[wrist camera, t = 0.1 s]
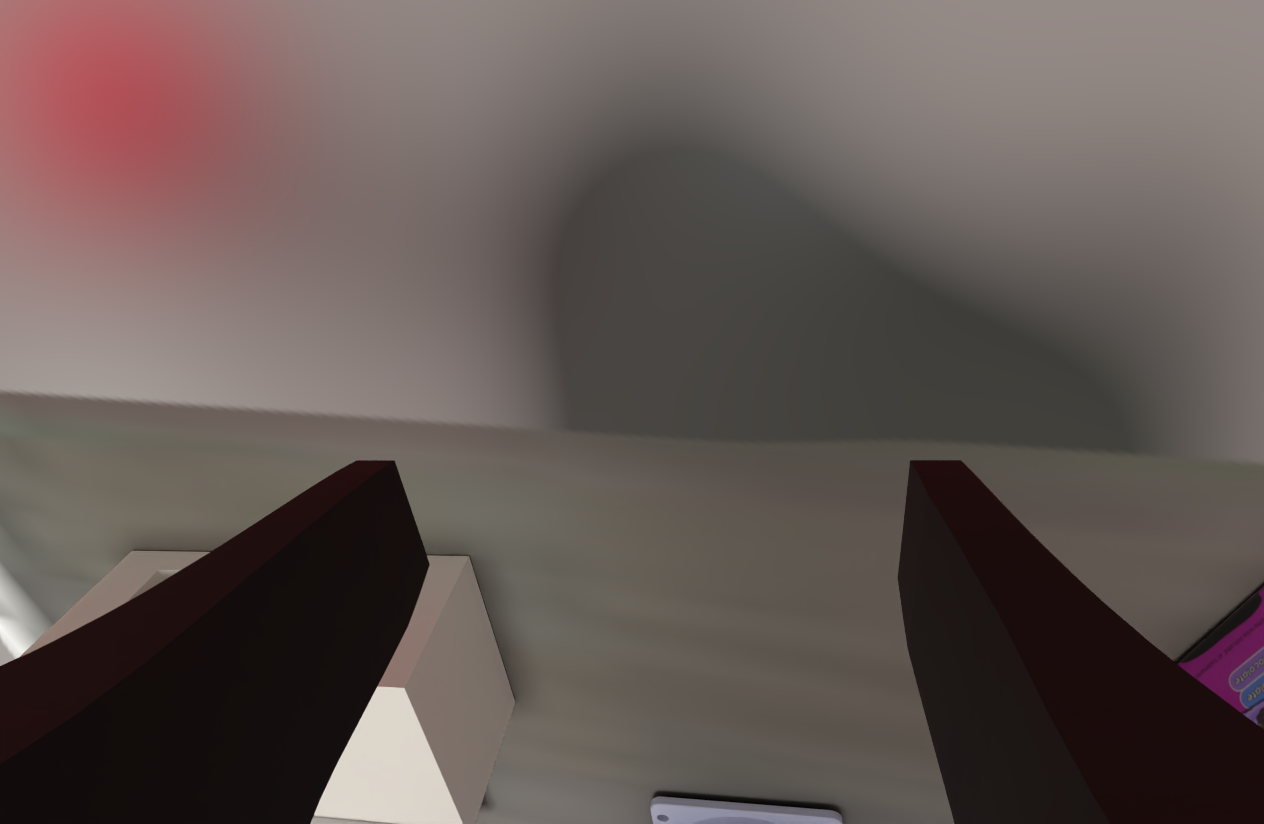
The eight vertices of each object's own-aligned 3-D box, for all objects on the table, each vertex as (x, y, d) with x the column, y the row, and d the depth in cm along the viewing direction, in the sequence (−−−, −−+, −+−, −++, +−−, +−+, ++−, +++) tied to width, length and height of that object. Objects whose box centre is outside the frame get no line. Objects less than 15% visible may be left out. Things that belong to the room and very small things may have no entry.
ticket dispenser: (516, 705, 30) (465, 860, 25) (218, 688, 33) (117, 824, 28) (468, 556, 26) (395, 706, 21) (132, 550, 28) (-7, 681, 23)
